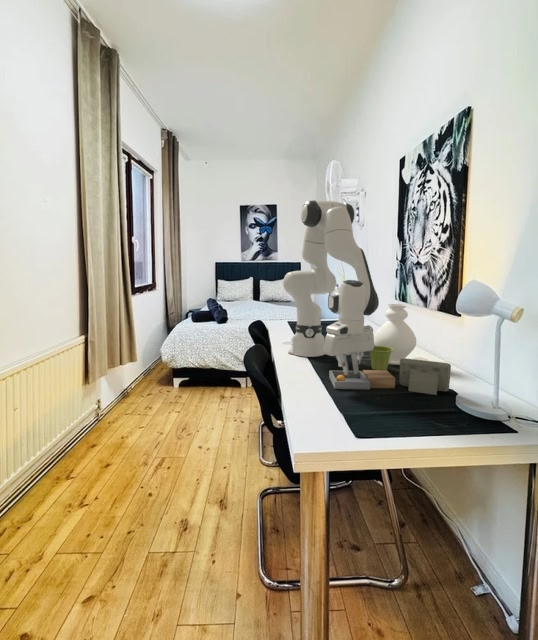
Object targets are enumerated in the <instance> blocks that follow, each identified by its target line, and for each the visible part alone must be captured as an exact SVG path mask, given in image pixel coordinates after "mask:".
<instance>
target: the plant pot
mask: <svg viewBox="0 0 538 640" xmlns="http://www.w3.org/2000/svg"><path fill="white" fill-rule="evenodd" d="M392 350H393V349H392V348H389V347H384V346H375V345H374V349H373V350H372V351H368V352H369V354H370V367H371V368H370V369H371V370H387V371H388V366H389V364H388V362H389V358H390V354H391V351H392Z"/></svg>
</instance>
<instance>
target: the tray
mask: <svg viewBox="0 0 538 640" xmlns="http://www.w3.org/2000/svg"><path fill="white" fill-rule="evenodd" d="M348 374H349V375H344V372H343V370H329V373H328V375H329V376H328V378H329V380H330V382H331V385H332V386H333V389H334V390H364V391H365V390H371V388H370V381H369V380H368V379H367V378H366V376H365V375H364V374H363V370H359V373H357V374H354V371H353V370H349V372H348ZM339 375H343V376H344V377H345V381H337V380H336V379H337V376H339Z"/></svg>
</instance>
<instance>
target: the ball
mask: <svg viewBox="0 0 538 640" xmlns="http://www.w3.org/2000/svg"><path fill="white" fill-rule="evenodd" d="M336 380H337V381H345V377H344V376H343V375H339V376H337V379H336Z"/></svg>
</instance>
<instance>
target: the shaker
mask: <svg viewBox="0 0 538 640" xmlns="http://www.w3.org/2000/svg"><path fill="white" fill-rule="evenodd" d="M348 356H350V359H351V363H352V371H354V374H357V373H359V371H360V370H359V364H358V362H357V353H356V351H355V352H352V353H348V354H343V357H342V361H344V362H345V364H344V365H345V366H343V367H342V371H343V372H344V375H349V374H348V372H349V371H350V370H349V363H348V358H347V357H348Z"/></svg>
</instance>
